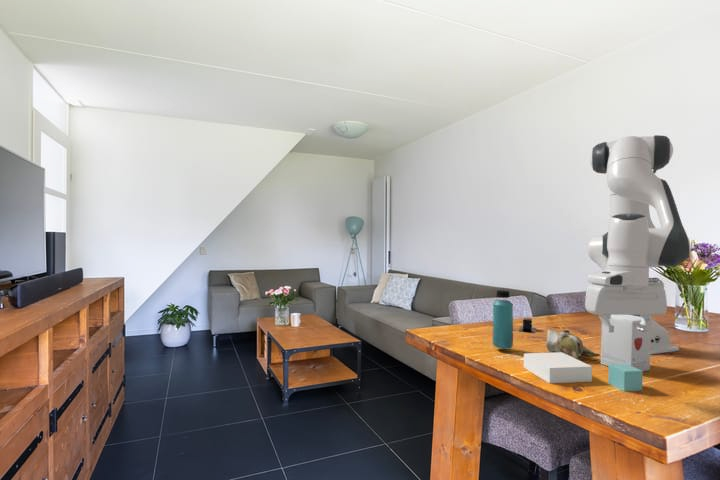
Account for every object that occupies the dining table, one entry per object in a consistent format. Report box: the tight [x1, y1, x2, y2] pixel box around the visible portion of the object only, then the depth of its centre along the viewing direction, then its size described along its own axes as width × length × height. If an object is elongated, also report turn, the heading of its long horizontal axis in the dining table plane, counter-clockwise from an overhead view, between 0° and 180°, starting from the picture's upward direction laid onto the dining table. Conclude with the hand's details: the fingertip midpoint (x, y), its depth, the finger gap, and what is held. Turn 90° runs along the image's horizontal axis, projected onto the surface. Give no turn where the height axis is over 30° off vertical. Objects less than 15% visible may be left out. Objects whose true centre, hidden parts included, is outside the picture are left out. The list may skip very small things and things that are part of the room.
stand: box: [523, 352, 593, 384], centre depth 104 cm, size 12×12×4 cm
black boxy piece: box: [518, 317, 537, 334], centre depth 154 cm, size 13×8×5 cm, turn 152°
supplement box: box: [600, 315, 651, 372], centre depth 110 cm, size 9×9×15 cm
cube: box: [607, 364, 644, 392], centre depth 96 cm, size 5×5×5 cm
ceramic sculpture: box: [545, 328, 601, 361], centre depth 120 cm, size 11×9×15 cm
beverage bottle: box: [492, 289, 514, 350], centre depth 125 cm, size 6×7×20 cm
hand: (625, 331), depth 96 cm, fingers open, 8 cm apart
